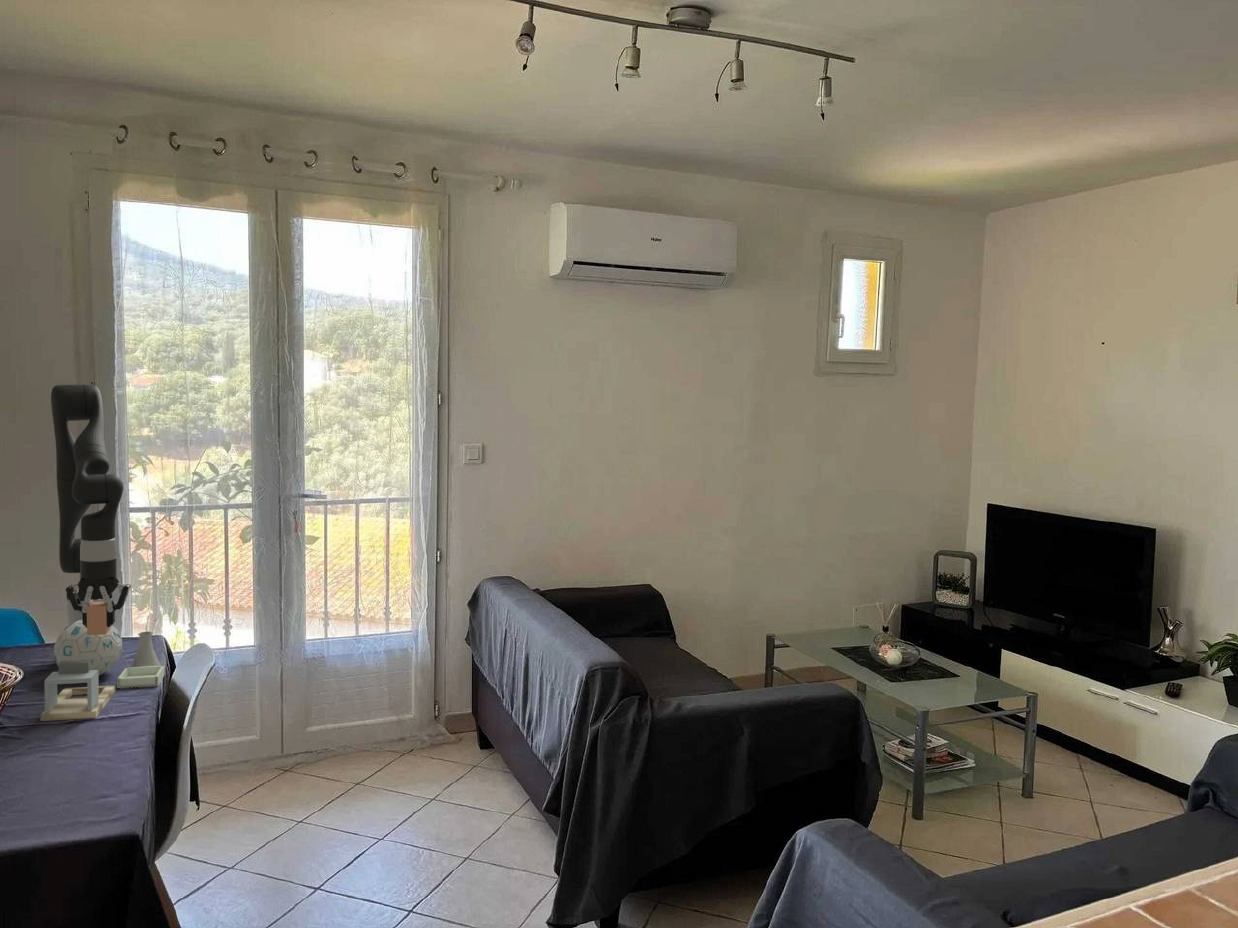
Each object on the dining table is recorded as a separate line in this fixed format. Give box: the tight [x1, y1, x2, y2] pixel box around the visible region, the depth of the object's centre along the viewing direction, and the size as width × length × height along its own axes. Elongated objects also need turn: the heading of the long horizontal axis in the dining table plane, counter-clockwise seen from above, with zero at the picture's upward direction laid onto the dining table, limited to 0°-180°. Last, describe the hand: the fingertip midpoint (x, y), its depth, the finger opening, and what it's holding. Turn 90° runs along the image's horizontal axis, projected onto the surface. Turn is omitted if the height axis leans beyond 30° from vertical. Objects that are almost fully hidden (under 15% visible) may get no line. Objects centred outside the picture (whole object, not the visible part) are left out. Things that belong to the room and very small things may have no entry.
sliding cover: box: [43, 660, 100, 713], centre depth 199 cm, size 6×9×10 cm, turn 107°
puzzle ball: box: [53, 619, 123, 677], centre depth 224 cm, size 15×15×15 cm
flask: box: [130, 630, 162, 667], centre depth 231 cm, size 7×7×10 cm
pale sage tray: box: [116, 665, 166, 689], centre depth 222 cm, size 9×9×2 cm
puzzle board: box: [39, 685, 116, 722], centre depth 205 cm, size 18×11×2 cm, turn 17°
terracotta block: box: [87, 602, 110, 635], centre depth 211 cm, size 4×4×7 cm
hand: (99, 626), depth 211 cm, fingers closed on terracotta block, 4 cm apart
